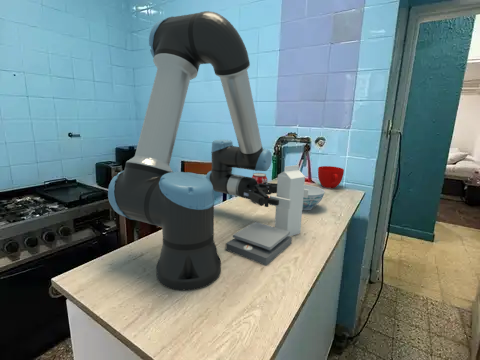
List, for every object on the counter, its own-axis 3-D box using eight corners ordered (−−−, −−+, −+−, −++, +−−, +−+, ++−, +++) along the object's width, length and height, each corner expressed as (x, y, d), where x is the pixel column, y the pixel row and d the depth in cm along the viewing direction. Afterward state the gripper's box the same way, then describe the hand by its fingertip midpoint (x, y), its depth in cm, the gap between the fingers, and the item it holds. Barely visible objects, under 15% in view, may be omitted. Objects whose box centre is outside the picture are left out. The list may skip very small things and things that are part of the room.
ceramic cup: (321, 192, 133) (323, 172, 131) (314, 183, 150) (315, 165, 147) (348, 192, 133) (350, 173, 131) (337, 184, 149) (339, 166, 147)
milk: (300, 233, 86) (306, 166, 81) (286, 237, 83) (292, 168, 78) (287, 226, 91) (292, 163, 86) (273, 230, 88) (278, 164, 83)
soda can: (266, 198, 120) (267, 172, 117) (266, 204, 114) (267, 176, 111) (250, 198, 121) (251, 172, 118) (249, 203, 114) (250, 175, 111)
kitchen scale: (266, 265, 68) (266, 251, 67) (225, 249, 75) (226, 237, 74) (291, 243, 80) (292, 231, 79) (254, 231, 87) (255, 220, 86)
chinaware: (284, 211, 105) (285, 192, 103) (286, 200, 119) (288, 183, 118) (323, 215, 102) (325, 196, 100) (321, 203, 116) (323, 186, 114)
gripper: (260, 189, 105) (313, 200, 93) (220, 206, 85) (280, 222, 74) (261, 170, 103) (315, 179, 92) (220, 183, 84) (281, 196, 72)
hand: (299, 198), depth 83 cm, fingers open, 13 cm apart
